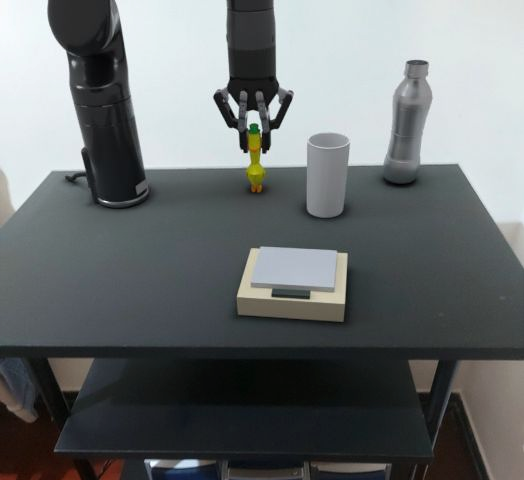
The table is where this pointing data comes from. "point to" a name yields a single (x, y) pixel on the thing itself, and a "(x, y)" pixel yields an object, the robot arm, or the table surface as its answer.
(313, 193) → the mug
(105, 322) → the table surface
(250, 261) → the scale
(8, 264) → the table surface
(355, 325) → the table surface
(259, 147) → the toy figure
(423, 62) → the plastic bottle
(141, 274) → the table surface
